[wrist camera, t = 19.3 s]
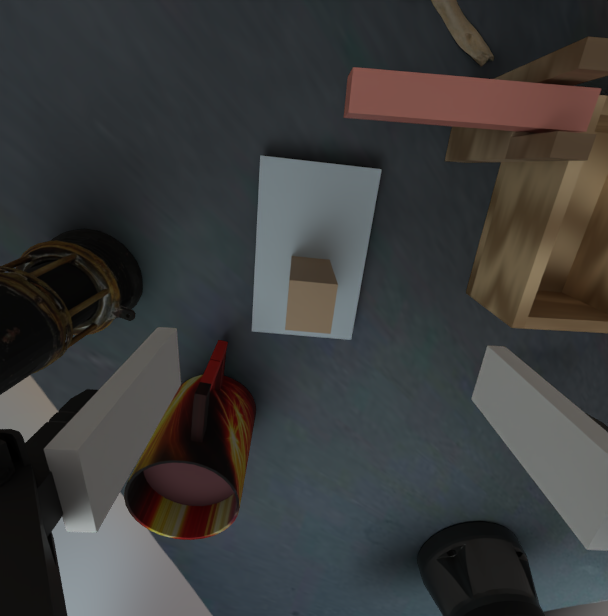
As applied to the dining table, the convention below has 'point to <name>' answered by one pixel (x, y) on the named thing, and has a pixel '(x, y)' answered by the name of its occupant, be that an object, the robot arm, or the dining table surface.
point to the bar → (468, 101)
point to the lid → (311, 246)
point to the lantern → (62, 298)
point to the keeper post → (537, 146)
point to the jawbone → (463, 31)
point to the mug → (196, 458)
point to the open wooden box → (548, 241)
